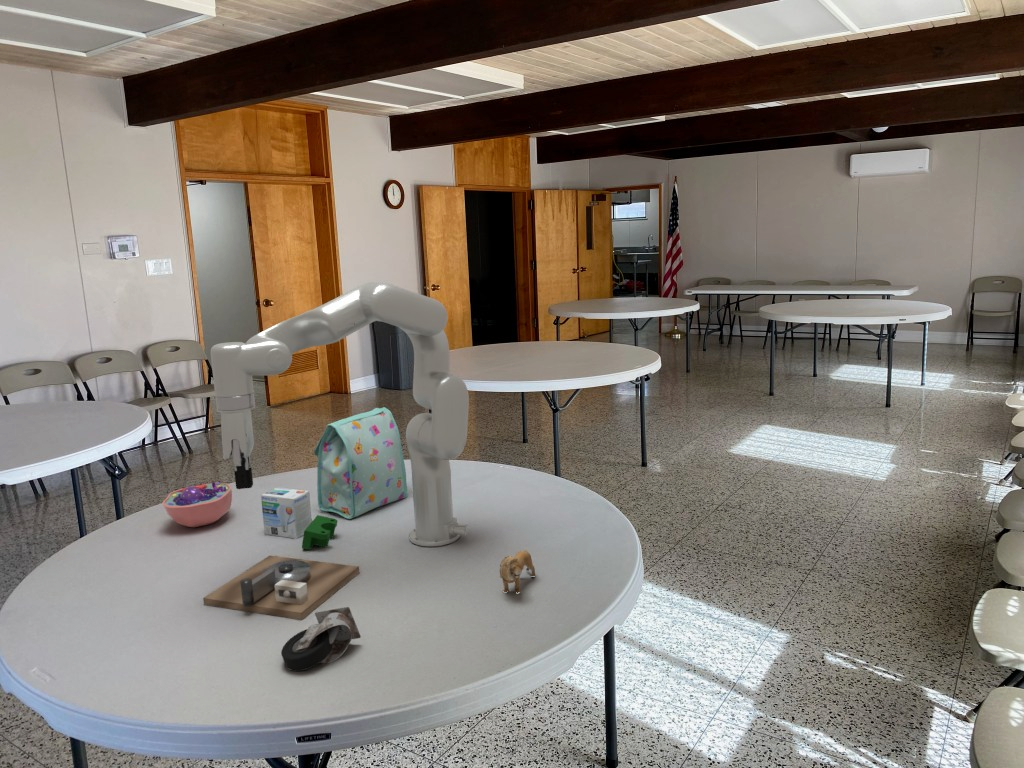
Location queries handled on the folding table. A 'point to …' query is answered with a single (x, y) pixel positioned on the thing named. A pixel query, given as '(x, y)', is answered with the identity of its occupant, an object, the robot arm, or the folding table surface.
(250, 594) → the crank wheel
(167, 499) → the cell model
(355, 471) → the lunch bag
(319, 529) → the clamp
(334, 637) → the caster wheel
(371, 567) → the folding table surface
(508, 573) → the lion figurine
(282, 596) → the stand base
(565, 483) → the folding table surface
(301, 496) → the light bulb box
